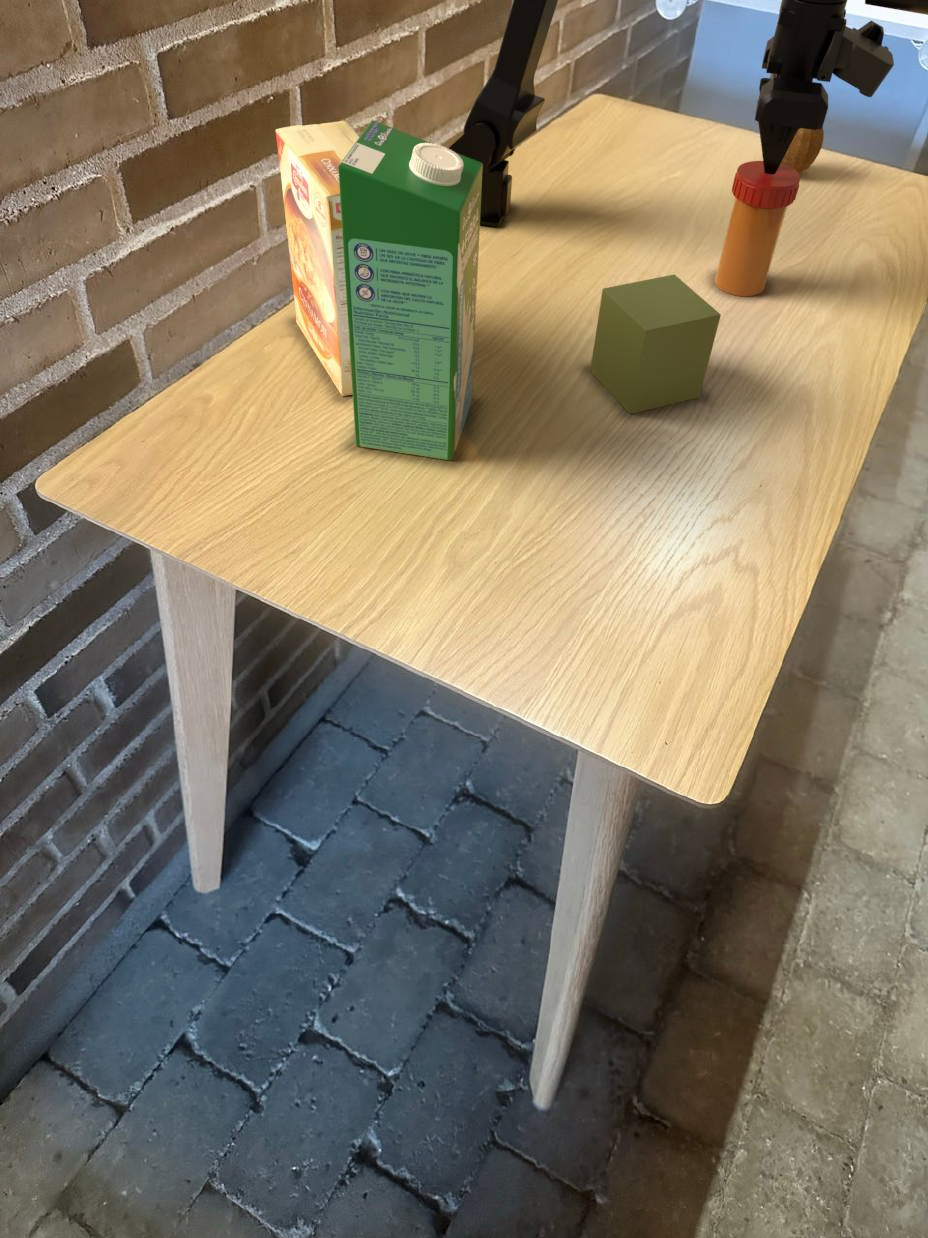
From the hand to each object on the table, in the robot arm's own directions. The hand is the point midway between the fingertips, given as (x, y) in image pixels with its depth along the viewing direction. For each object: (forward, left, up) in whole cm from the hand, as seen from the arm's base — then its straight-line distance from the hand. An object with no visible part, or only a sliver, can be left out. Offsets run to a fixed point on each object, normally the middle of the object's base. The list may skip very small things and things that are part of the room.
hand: (770, 168), depth 98 cm
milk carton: (-28, -37, -13) cm, 48 cm away
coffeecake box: (-38, -27, -13) cm, 48 cm away
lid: (0, 0, -1) cm, 1 cm away
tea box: (-8, -24, -13) cm, 28 cm away
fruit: (+5, +34, -13) cm, 37 cm away
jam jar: (0, 0, -13) cm, 13 cm away
